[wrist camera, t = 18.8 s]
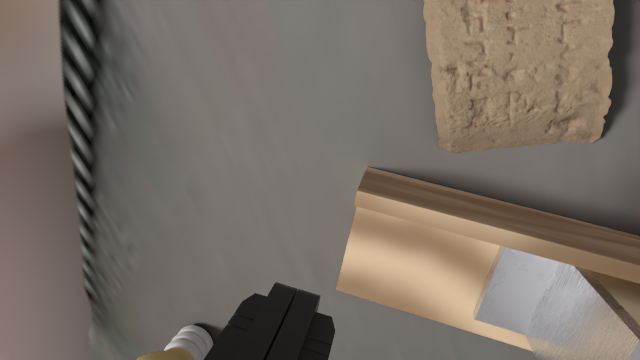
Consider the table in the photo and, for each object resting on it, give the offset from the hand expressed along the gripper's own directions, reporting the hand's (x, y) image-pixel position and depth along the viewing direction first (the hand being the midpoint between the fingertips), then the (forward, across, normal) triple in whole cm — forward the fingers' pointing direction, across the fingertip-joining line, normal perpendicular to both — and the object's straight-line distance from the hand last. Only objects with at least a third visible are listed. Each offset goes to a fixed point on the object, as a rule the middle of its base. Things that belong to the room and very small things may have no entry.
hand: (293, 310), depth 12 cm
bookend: (+15, -13, +5) cm, 21 cm away
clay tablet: (+18, -8, -10) cm, 22 cm away
